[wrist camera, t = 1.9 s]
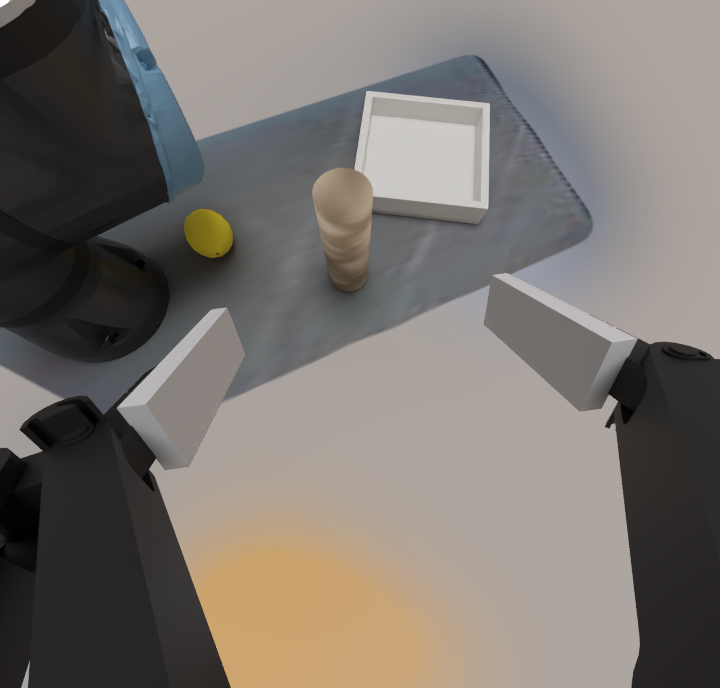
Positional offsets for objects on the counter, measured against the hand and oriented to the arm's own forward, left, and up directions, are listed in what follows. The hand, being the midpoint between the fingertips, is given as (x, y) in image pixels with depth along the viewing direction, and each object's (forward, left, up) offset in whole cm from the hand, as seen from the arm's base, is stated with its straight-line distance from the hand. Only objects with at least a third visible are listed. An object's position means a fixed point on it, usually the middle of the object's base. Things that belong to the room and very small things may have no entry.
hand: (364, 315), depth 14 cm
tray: (+5, +31, -20) cm, 37 cm away
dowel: (-3, +12, -20) cm, 23 cm away
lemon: (-21, +14, -20) cm, 32 cm away
